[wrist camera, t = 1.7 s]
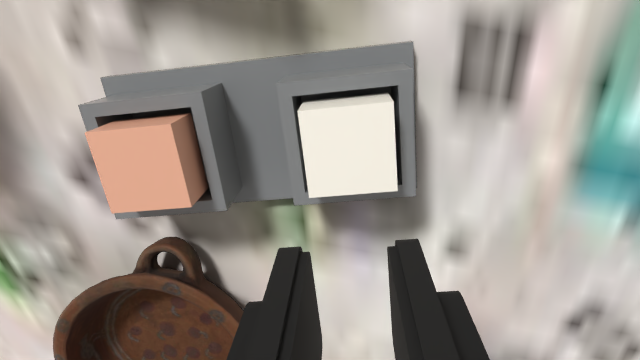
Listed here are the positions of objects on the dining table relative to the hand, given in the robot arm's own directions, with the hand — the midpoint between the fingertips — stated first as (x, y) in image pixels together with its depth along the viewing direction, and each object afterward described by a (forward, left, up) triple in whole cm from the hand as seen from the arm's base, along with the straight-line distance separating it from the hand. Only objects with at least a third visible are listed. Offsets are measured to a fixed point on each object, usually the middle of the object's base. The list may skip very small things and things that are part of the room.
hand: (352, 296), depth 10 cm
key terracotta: (+10, +7, -15) cm, 19 cm away
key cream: (0, 0, -15) cm, 15 cm away
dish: (+4, +24, -20) cm, 32 cm away
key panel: (+5, +3, -19) cm, 20 cm away
